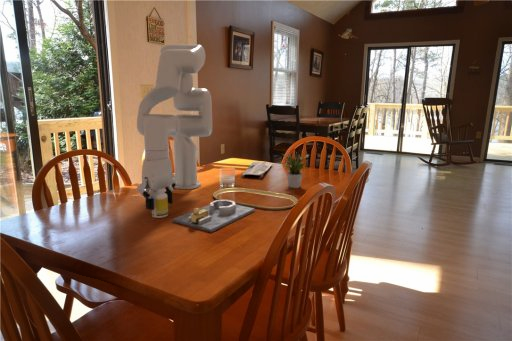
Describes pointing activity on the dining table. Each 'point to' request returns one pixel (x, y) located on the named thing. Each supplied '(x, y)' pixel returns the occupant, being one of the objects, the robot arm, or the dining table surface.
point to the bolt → (198, 214)
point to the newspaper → (257, 168)
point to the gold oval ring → (257, 193)
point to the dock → (216, 215)
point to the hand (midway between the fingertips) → (159, 205)
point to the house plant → (294, 171)
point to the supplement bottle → (160, 203)
